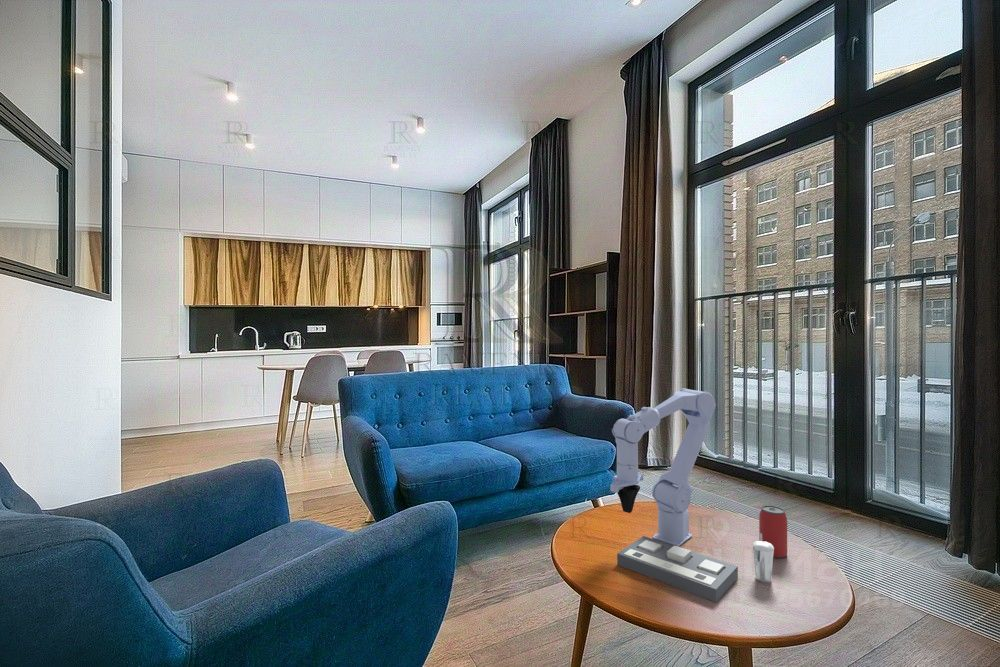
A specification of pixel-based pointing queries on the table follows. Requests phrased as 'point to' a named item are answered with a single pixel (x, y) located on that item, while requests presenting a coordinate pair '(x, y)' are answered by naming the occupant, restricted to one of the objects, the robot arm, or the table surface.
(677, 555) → the key middle
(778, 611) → the table surface
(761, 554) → the milkshake
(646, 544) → the key
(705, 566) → the key
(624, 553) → the button board
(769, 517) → the beer can
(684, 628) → the table surface
